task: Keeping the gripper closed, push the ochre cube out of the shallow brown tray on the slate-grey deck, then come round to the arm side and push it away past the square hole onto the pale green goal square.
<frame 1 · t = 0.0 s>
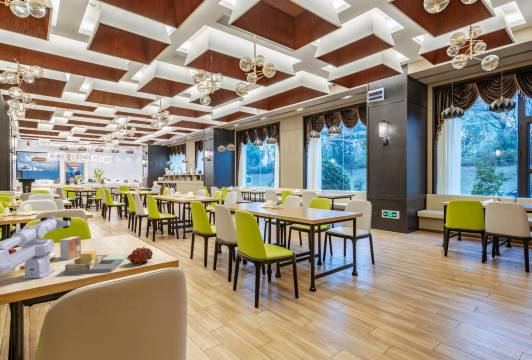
hand: (62, 219, 151), 22 cm above the table, tool horizontal, fingers open, 7 cm apart
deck: (99, 264, 145), on the table
shallow brown tray: (85, 264, 140), resting on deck
crook tool: (133, 256, 158), on the table
red grape bunch: (140, 263, 147), on the table
small box: (71, 257, 158), on the table
cube: (88, 262, 143), point 2 cm above the table, touching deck
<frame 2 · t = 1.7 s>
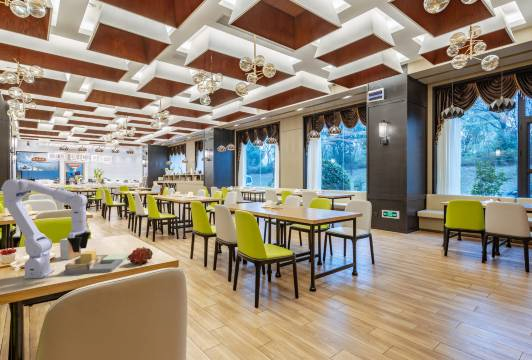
hand: (80, 250, 135), 10 cm above the table, tool pointing down, fingers open, 6 cm apart
nothing on the table moved.
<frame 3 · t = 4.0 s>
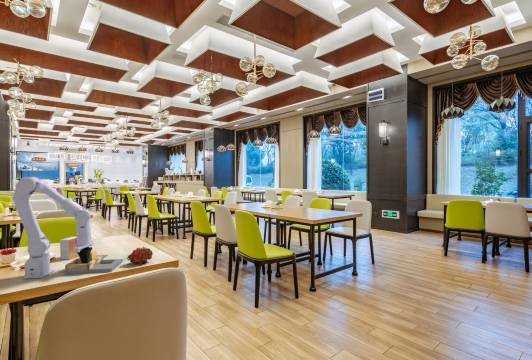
hand: (84, 263, 140), 2 cm above the table, tool pointing down, fingers closed
cube: (89, 262, 144), point 2 cm above the table, touching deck, gripper
everything else where it was.
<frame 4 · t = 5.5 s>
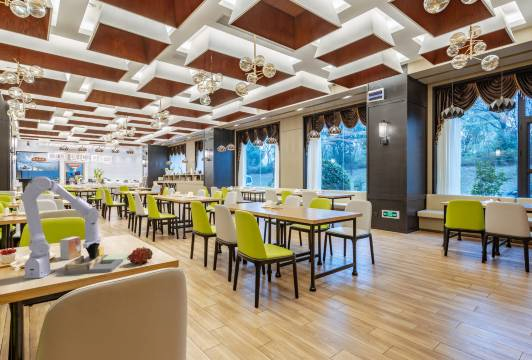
hand: (92, 258, 148), 2 cm above the table, tool pointing down, fingers closed
cube: (96, 257, 152), point 2 cm above the table, touching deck, gripper
everything else where it was.
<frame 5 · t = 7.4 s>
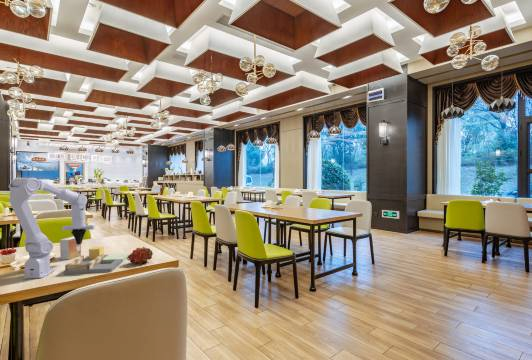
hand: (79, 243, 150), 9 cm above the table, tool pointing down, fingers closed
cube: (96, 257, 152), point 2 cm above the table, touching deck
everything else where it was.
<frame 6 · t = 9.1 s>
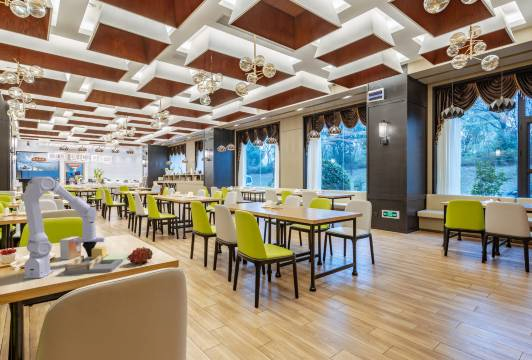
hand: (90, 256, 151), 2 cm above the table, tool pointing down, fingers closed
cube: (99, 257, 152), point 2 cm above the table, touching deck, gripper
everything else where it was.
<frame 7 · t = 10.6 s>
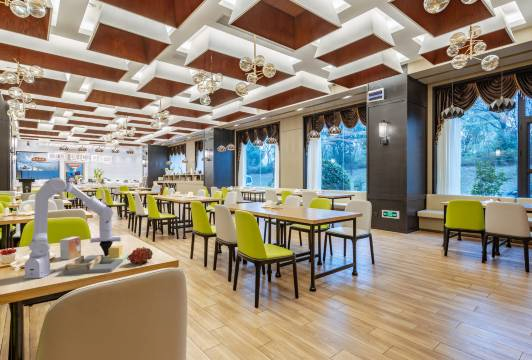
hand: (106, 255, 152), 2 cm above the table, tool pointing down, fingers closed
cube: (115, 256, 153), point 2 cm above the table, touching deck, gripper
everything else where it was.
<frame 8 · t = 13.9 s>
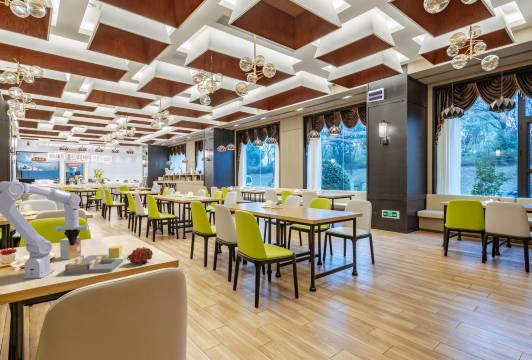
hand: (72, 245, 145), 10 cm above the table, tool pointing down, fingers closed
cube: (115, 256, 153), point 2 cm above the table, touching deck
everything else where it was.
at the end: cube inside the target area (0.2 cm from its centre), point 1.6 cm above the table; cube tilted 0°; cube touching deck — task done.
